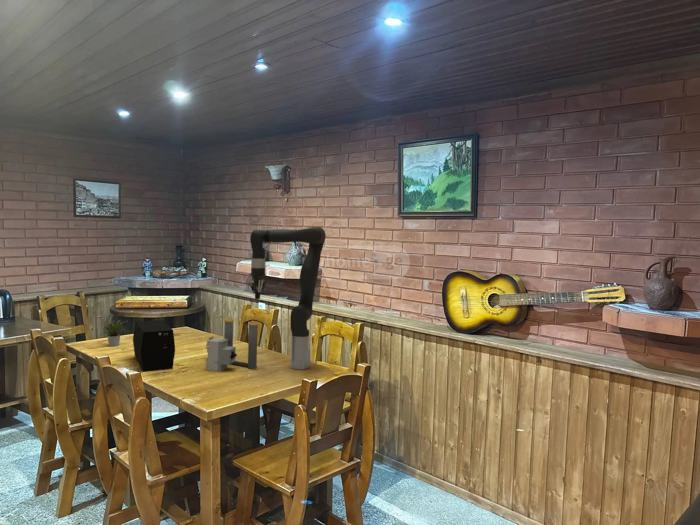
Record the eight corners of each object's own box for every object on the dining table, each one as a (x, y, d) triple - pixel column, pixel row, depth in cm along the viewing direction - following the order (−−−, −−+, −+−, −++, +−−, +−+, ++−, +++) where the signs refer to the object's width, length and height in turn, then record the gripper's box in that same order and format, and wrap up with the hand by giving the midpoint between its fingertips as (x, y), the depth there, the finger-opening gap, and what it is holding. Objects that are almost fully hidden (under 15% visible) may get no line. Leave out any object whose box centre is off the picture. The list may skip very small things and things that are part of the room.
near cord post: (259, 367, 261) (260, 322, 260) (253, 369, 257) (254, 323, 255) (251, 366, 264) (252, 321, 262) (245, 368, 259) (246, 322, 258)
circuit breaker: (231, 372, 250) (232, 342, 250) (205, 369, 253) (206, 340, 253) (238, 368, 258) (238, 339, 257) (212, 366, 261) (213, 337, 260)
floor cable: (249, 366, 262) (249, 362, 262) (247, 367, 260) (247, 363, 260) (232, 363, 267) (233, 360, 267) (230, 364, 265) (230, 360, 265)
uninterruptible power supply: (164, 354, 281) (164, 319, 280) (175, 369, 252) (176, 330, 251) (132, 357, 273) (133, 321, 272) (140, 373, 244) (141, 332, 243)
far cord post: (235, 363, 268) (236, 319, 267) (228, 365, 264) (229, 320, 262) (227, 361, 271) (228, 318, 269) (221, 363, 266) (222, 319, 265)
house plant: (127, 342, 309) (127, 316, 308) (130, 346, 297) (130, 319, 296) (101, 344, 302) (102, 317, 301) (103, 348, 290) (104, 321, 289)
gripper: (256, 267, 259) (255, 301, 260) (271, 266, 271) (270, 298, 272) (244, 267, 262) (244, 299, 263) (260, 266, 274) (259, 297, 275)
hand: (257, 299), depth 268 cm, fingers closed
